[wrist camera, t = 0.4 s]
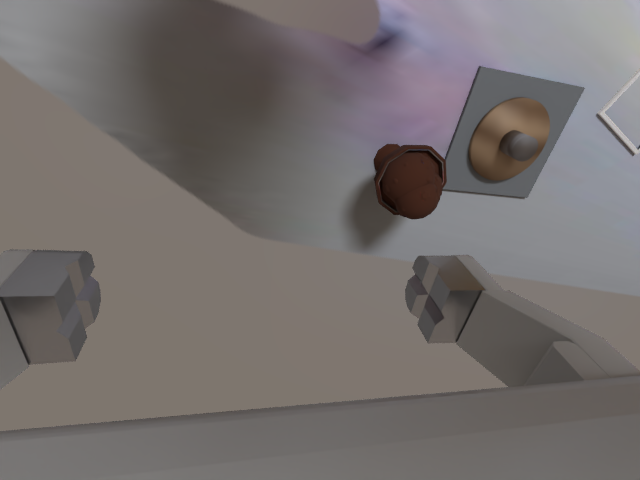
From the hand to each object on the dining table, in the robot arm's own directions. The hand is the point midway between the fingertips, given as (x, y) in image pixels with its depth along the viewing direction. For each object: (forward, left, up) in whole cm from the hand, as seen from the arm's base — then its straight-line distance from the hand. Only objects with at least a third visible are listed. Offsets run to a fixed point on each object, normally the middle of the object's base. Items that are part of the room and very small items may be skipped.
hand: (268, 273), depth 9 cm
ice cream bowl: (+11, +24, -47) cm, 54 cm away
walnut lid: (+5, +44, -46) cm, 64 cm away
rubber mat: (+5, +44, -47) cm, 65 cm away
